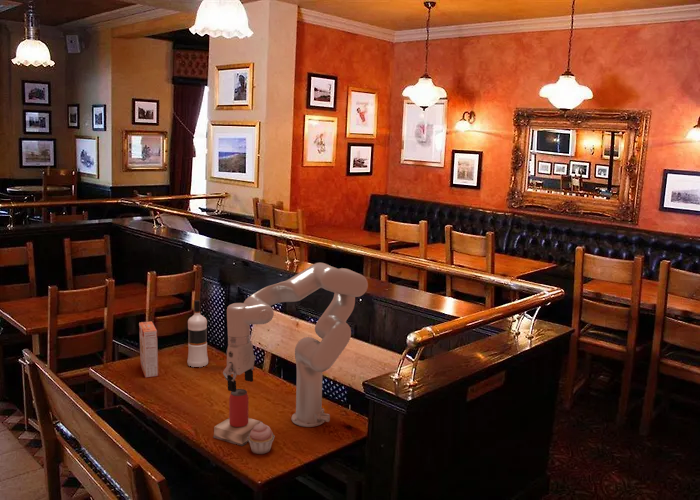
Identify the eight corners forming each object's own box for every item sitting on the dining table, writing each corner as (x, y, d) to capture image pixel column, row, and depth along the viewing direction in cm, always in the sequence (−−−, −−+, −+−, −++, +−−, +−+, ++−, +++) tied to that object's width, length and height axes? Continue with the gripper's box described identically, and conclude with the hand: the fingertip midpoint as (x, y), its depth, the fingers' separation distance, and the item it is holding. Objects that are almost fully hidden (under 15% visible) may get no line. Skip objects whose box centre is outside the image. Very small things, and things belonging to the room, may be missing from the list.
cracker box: (139, 367, 292) (138, 321, 288) (153, 365, 294) (152, 320, 290) (144, 378, 279) (142, 331, 275) (158, 376, 282) (157, 329, 278)
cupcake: (274, 442, 227) (274, 415, 225) (275, 456, 218) (275, 427, 216) (246, 443, 225) (246, 416, 223) (246, 457, 216) (246, 429, 214)
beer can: (244, 429, 227) (244, 396, 225) (226, 426, 228) (226, 394, 226) (251, 421, 233) (251, 389, 231) (233, 418, 235) (233, 387, 233)
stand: (263, 431, 234) (263, 421, 234) (242, 446, 223) (242, 435, 223) (235, 423, 240) (235, 413, 239) (213, 437, 229) (213, 426, 228)
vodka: (184, 367, 293) (183, 302, 288) (191, 360, 302) (190, 297, 297) (204, 368, 292) (204, 303, 287) (210, 361, 301) (210, 298, 296)
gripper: (232, 348, 216) (234, 397, 219) (262, 333, 231) (263, 379, 234) (214, 345, 219) (216, 393, 223) (245, 330, 234) (246, 375, 238)
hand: (240, 385), depth 229 cm, fingers open, 9 cm apart
